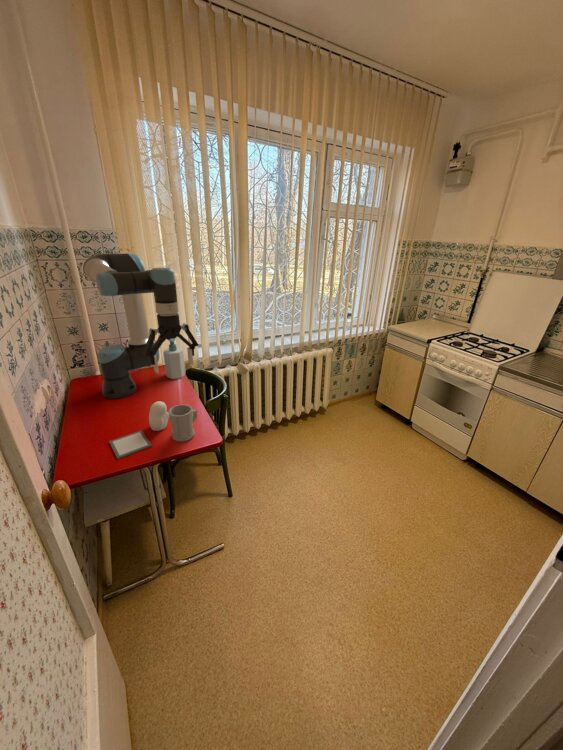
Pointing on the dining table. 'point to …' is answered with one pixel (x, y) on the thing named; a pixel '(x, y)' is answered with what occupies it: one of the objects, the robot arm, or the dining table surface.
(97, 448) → the dining table surface
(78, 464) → the dining table surface
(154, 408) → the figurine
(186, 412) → the cup
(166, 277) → the robot arm
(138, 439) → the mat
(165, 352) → the soap bottle
